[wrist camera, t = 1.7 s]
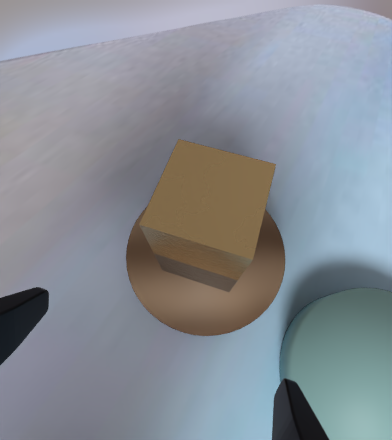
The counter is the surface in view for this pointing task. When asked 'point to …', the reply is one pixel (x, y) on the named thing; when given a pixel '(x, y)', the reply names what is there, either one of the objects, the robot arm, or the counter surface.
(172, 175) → the block
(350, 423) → the stand
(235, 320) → the stand
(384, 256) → the counter surface
